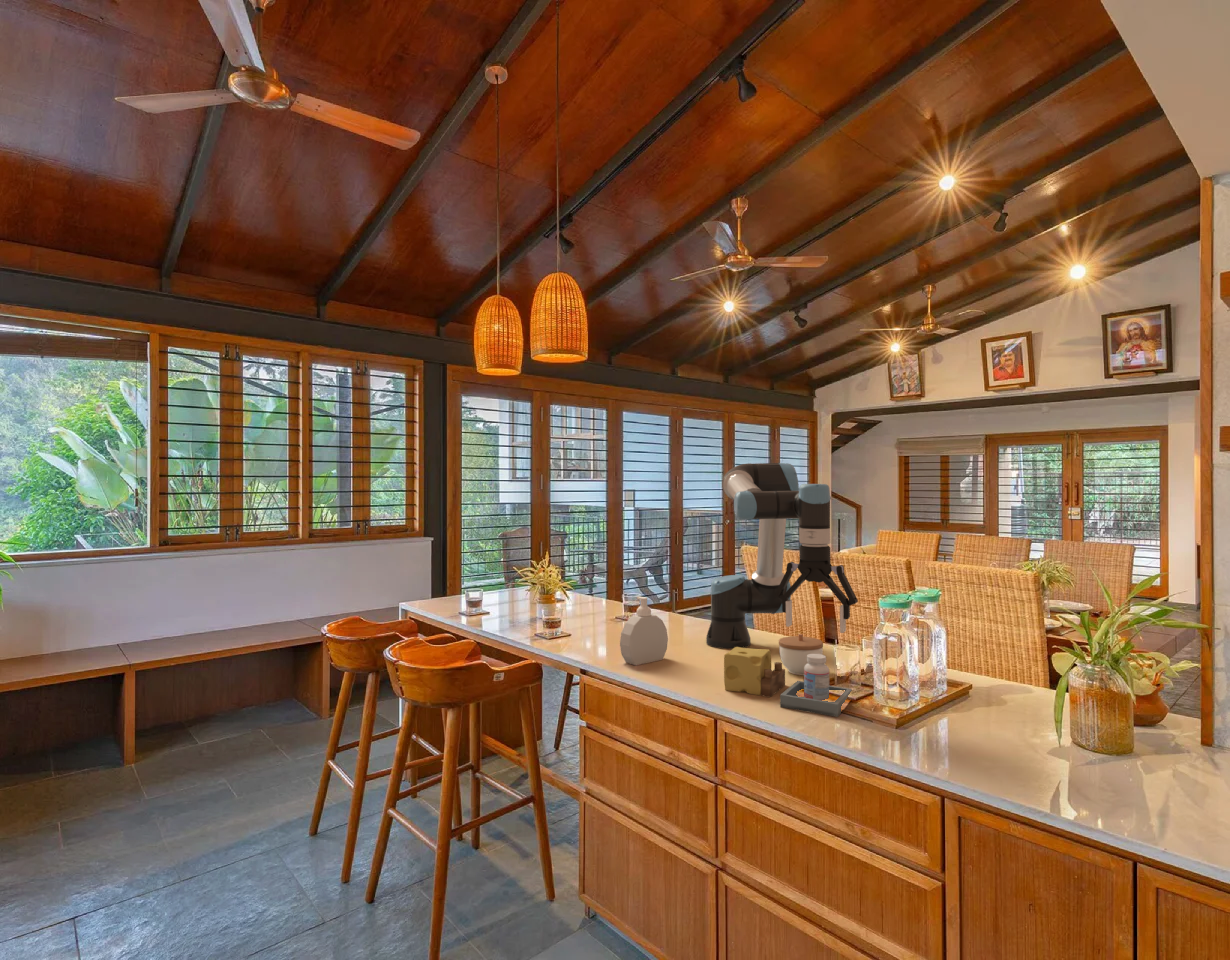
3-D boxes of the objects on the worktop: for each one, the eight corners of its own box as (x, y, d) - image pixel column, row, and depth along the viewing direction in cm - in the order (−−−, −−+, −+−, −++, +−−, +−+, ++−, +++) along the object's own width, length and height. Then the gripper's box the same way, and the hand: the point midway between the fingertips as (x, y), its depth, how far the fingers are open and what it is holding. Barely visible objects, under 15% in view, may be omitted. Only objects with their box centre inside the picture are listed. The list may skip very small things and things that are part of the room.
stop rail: (776, 683, 186) (776, 660, 186) (785, 685, 184) (784, 661, 184) (761, 695, 176) (760, 671, 176) (770, 697, 174) (769, 672, 174)
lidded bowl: (785, 664, 206) (785, 628, 206) (827, 669, 200) (827, 632, 200) (773, 674, 195) (773, 636, 195) (817, 680, 189) (817, 641, 189)
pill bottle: (800, 697, 172) (800, 653, 172) (823, 696, 172) (823, 652, 172) (809, 704, 166) (809, 659, 166) (833, 703, 166) (832, 658, 166)
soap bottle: (657, 655, 218) (657, 594, 218) (668, 658, 214) (668, 596, 214) (618, 663, 208) (618, 599, 208) (629, 667, 204) (628, 601, 204)
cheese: (761, 696, 175) (760, 658, 175) (722, 690, 181) (721, 653, 181) (772, 685, 185) (771, 649, 185) (734, 680, 190) (734, 645, 190)
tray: (797, 691, 178) (797, 680, 178) (851, 700, 171) (851, 688, 171) (780, 706, 167) (780, 694, 167) (837, 717, 159) (837, 704, 159)
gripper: (762, 543, 173) (762, 625, 173) (862, 548, 159) (863, 637, 159) (772, 541, 179) (772, 620, 179) (869, 545, 165) (870, 631, 166)
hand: (815, 628), depth 169 cm, fingers open, 13 cm apart
